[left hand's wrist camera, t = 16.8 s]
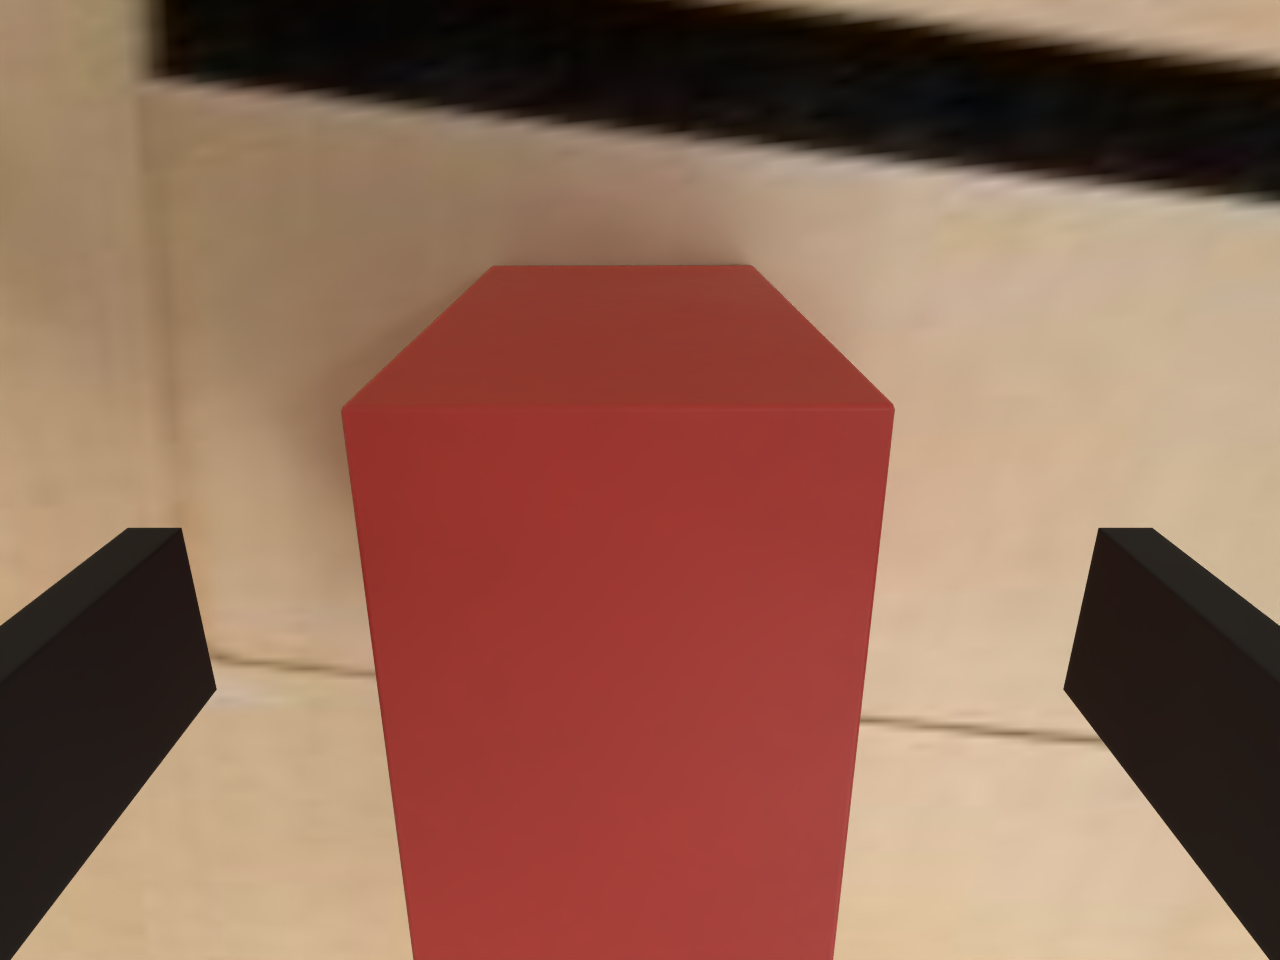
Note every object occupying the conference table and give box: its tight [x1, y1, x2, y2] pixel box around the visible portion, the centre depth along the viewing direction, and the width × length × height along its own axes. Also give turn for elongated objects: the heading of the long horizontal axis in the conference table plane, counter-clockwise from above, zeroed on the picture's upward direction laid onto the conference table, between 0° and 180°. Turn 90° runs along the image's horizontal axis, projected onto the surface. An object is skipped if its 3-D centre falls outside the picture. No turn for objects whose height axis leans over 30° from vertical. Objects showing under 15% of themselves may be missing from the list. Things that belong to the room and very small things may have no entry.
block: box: [341, 265, 895, 960], centre depth 15 cm, size 8×5×10 cm, turn 0°
